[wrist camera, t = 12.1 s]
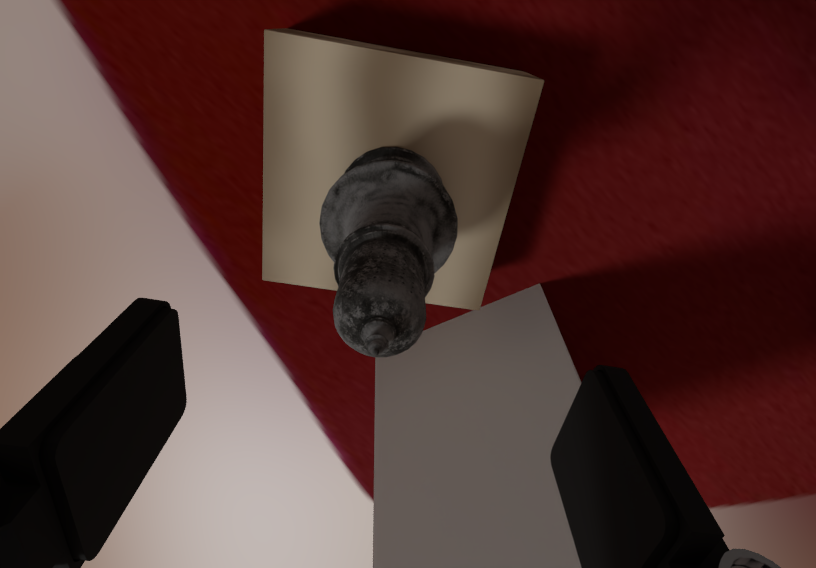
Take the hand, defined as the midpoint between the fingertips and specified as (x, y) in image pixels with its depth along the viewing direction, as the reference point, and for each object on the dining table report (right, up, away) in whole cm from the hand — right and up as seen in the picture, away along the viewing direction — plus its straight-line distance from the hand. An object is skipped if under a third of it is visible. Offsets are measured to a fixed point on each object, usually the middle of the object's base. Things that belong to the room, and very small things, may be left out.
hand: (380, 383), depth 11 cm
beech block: (0, +9, +15) cm, 18 cm away
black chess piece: (0, +6, +12) cm, 14 cm away
